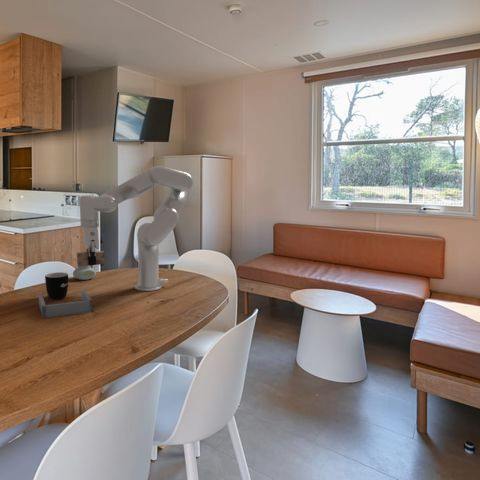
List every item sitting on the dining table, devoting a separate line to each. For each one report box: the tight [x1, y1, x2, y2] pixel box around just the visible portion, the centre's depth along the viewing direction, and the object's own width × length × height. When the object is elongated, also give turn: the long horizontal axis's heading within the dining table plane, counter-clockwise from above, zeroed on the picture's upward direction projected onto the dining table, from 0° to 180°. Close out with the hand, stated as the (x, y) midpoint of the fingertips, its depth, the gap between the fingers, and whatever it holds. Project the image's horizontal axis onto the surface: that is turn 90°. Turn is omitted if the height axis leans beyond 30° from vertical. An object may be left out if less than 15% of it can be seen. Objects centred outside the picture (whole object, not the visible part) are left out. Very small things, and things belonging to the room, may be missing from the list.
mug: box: [44, 271, 69, 301], centre depth 164 cm, size 12×9×10 cm
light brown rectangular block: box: [76, 250, 106, 267], centre depth 169 cm, size 11×4×6 cm, turn 122°
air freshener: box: [72, 265, 97, 281], centre depth 194 cm, size 11×8×10 cm
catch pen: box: [38, 289, 94, 319], centre depth 150 cm, size 17×17×4 cm
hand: (91, 263), depth 169 cm, fingers closed on light brown rectangular block, 3 cm apart
